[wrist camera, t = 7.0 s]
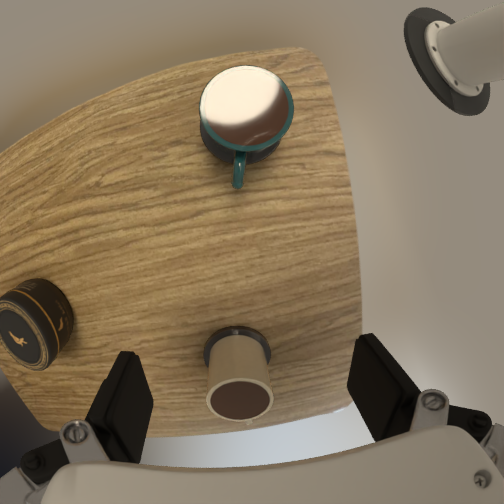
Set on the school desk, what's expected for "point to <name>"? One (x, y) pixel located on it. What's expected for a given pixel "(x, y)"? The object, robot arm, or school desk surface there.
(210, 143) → the saucer front
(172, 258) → the school desk surface
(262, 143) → the cup front
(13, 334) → the jar
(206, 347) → the dark grey round coaster
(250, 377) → the cup back
